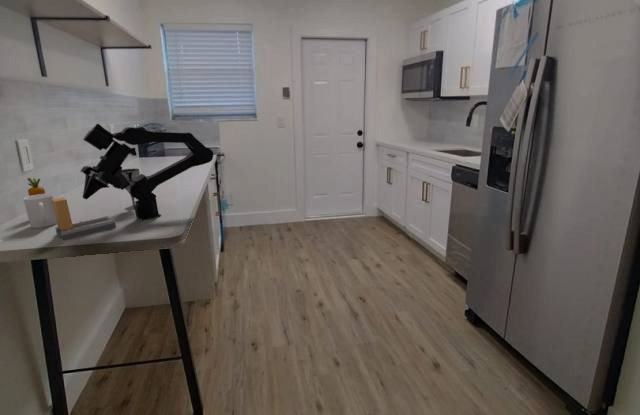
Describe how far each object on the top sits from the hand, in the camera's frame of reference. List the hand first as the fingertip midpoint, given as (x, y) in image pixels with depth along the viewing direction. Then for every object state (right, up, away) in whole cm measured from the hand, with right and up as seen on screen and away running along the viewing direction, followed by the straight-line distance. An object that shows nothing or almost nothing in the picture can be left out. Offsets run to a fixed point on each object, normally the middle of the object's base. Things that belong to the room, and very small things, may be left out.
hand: (84, 198), depth 119 cm
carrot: (-29, -6, +21) cm, 36 cm away
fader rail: (0, -10, +2) cm, 11 cm away
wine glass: (+2, -3, +28) cm, 29 cm away
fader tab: (-4, -10, -2) cm, 11 cm away
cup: (-19, -9, +10) cm, 24 cm away
